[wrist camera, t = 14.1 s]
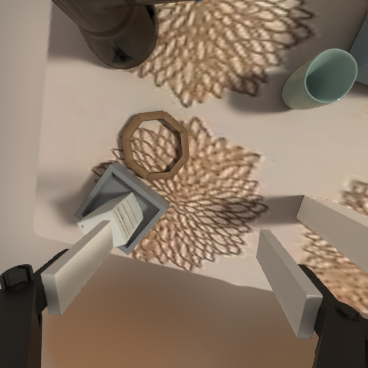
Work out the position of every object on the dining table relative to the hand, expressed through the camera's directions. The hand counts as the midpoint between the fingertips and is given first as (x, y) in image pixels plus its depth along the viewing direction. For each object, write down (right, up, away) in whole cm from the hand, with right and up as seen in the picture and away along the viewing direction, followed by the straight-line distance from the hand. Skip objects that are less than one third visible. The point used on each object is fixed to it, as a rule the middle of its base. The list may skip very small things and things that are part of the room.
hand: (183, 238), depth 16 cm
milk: (+31, -1, +27) cm, 41 cm away
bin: (-15, -1, +30) cm, 34 cm away
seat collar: (-6, +14, +26) cm, 30 cm away
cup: (+23, +24, +22) cm, 40 cm away
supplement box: (-15, -1, +30) cm, 33 cm away
